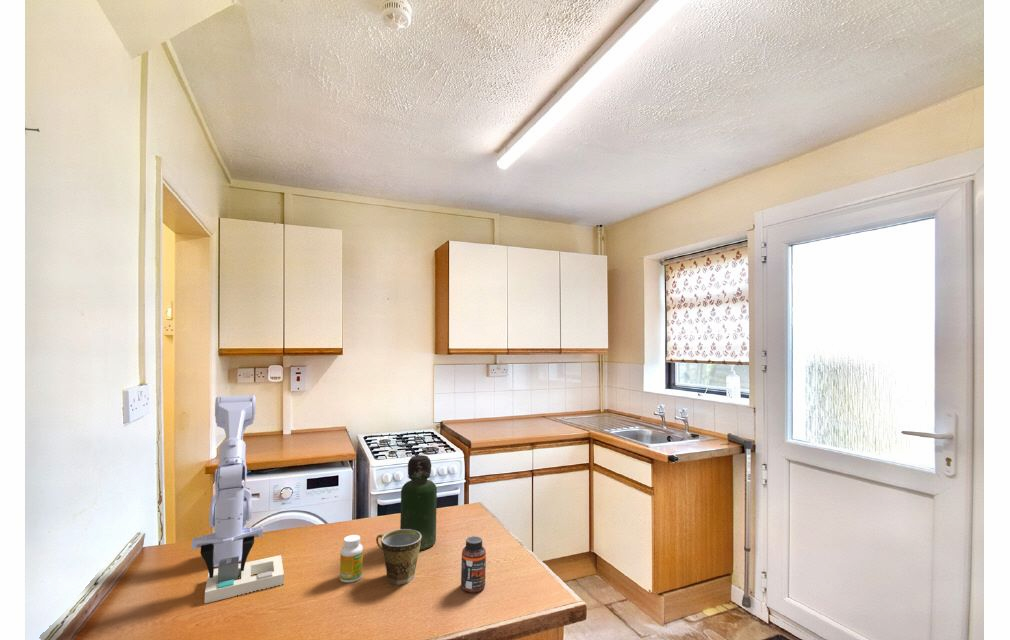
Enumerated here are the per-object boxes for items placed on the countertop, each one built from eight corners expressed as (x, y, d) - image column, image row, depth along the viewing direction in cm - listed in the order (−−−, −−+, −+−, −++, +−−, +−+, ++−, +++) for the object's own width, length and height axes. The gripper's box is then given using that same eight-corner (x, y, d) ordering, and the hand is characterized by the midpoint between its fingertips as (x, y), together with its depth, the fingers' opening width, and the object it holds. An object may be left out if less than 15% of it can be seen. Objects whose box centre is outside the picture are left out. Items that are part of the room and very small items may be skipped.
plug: (218, 585, 107) (219, 558, 107) (237, 581, 109) (239, 554, 109) (217, 593, 103) (218, 565, 104) (237, 589, 105) (238, 562, 106)
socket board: (208, 580, 109) (208, 568, 109) (280, 564, 117) (281, 553, 117) (204, 603, 99) (205, 590, 99) (283, 584, 107) (283, 572, 107)
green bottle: (394, 541, 131) (396, 456, 132) (426, 532, 137) (427, 451, 139) (408, 554, 123) (410, 464, 124) (442, 545, 129) (443, 458, 130)
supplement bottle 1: (355, 584, 108) (356, 543, 108) (335, 581, 109) (336, 541, 109) (366, 573, 113) (367, 534, 113) (347, 570, 114) (348, 532, 114)
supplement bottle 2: (472, 597, 103) (473, 547, 103) (455, 587, 107) (456, 539, 107) (490, 586, 107) (491, 539, 108) (473, 577, 111) (474, 532, 112)
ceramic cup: (428, 572, 113) (429, 533, 114) (404, 592, 104) (405, 549, 105) (388, 561, 119) (389, 524, 119) (362, 579, 110) (363, 538, 110)
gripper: (191, 527, 100) (188, 588, 99) (263, 515, 107) (261, 572, 106) (194, 516, 106) (191, 574, 105) (263, 505, 113) (261, 559, 112)
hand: (227, 572), depth 106 cm, fingers open, 6 cm apart
